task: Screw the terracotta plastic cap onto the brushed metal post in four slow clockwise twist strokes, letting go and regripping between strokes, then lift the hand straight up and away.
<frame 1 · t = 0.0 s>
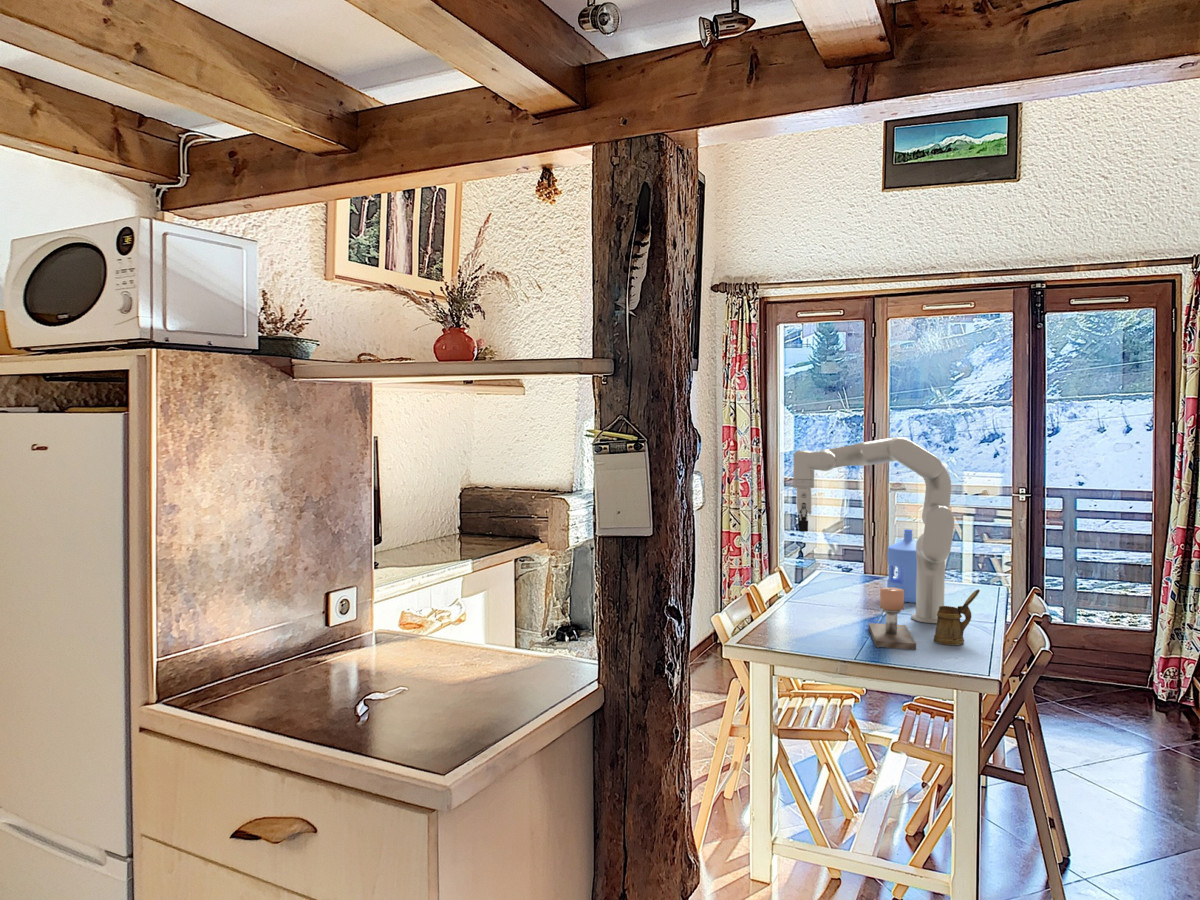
hand: (803, 529, 311), 31 cm above the table, tool pointing down, fingers open, 9 cm apart
cap: (891, 598, 276), point 13 cm above the table, hinge at 0.0°
water jug: (906, 599, 338), on the table
base board: (891, 638, 276), on the table
wooden mug: (955, 643, 272), on the table
threaded post: (891, 620, 276), on the base board, point 6 cm above the table
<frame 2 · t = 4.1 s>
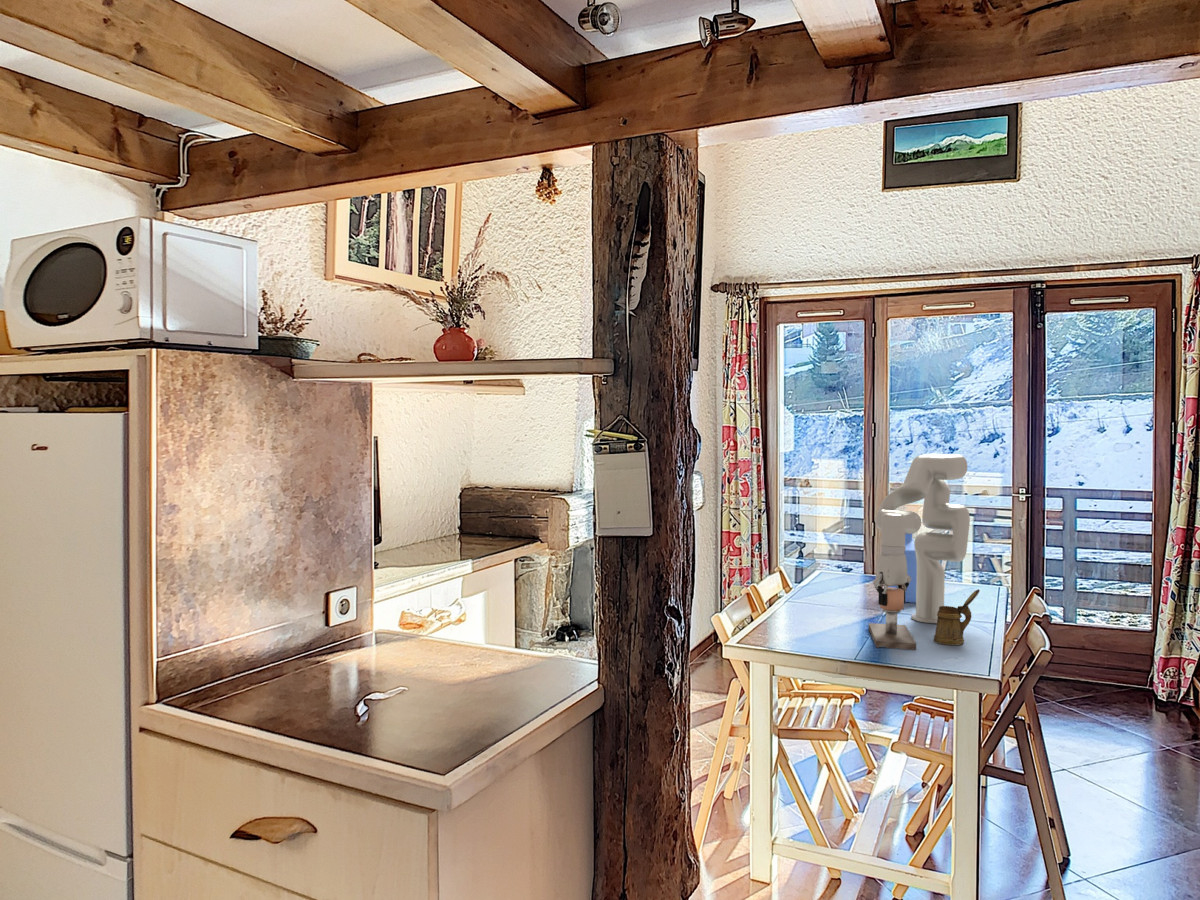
hand: (891, 603, 276), 12 cm above the table, tool pointing down, fingers closed on cap, 7 cm apart
cap: (891, 598, 276), point 13 cm above the table, hinge at 0.0°, touching gripper
everything else where it was.
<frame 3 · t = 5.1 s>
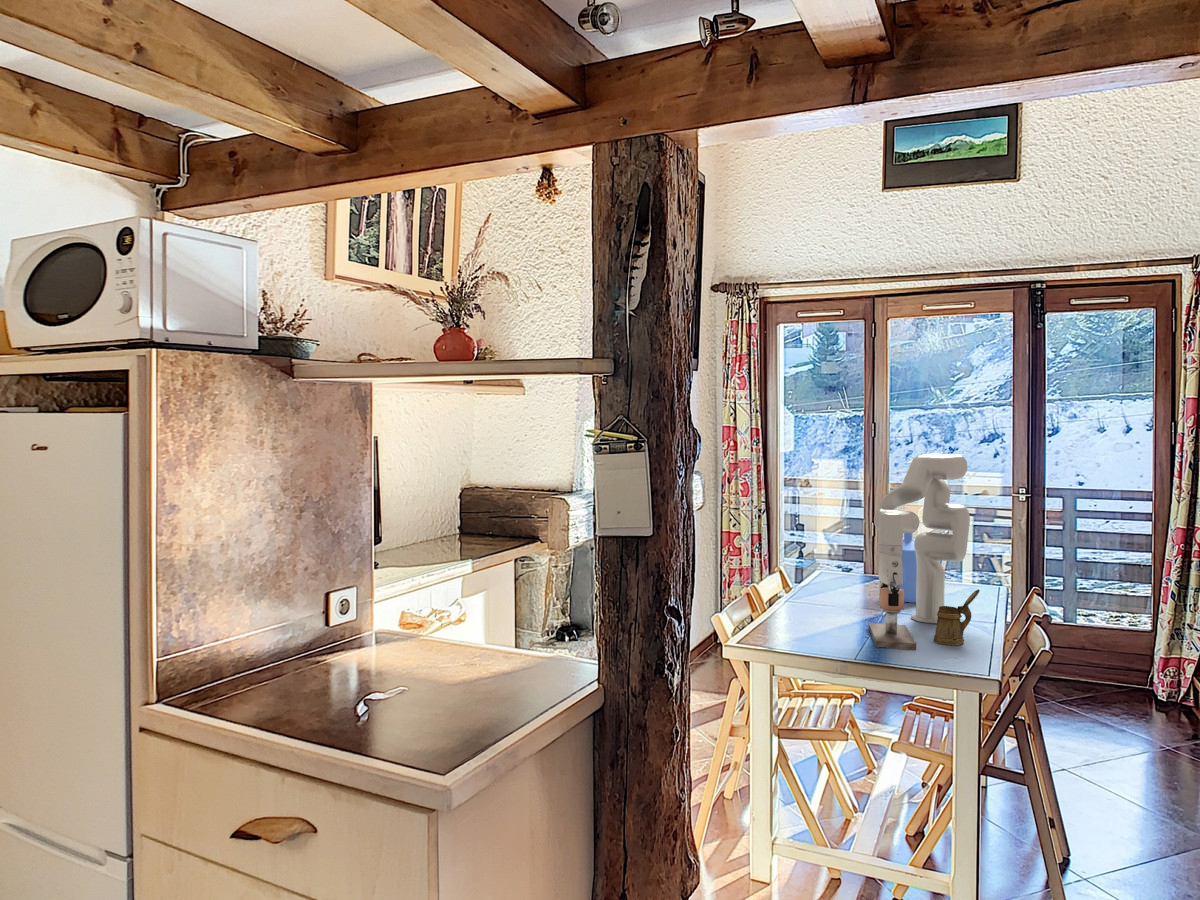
hand: (888, 602, 276), 12 cm above the table, tool pointing down, fingers closed on cap, 7 cm apart
cap: (891, 598, 276), point 13 cm above the table, hinge at 16.5°, touching gripper
everything else where it was.
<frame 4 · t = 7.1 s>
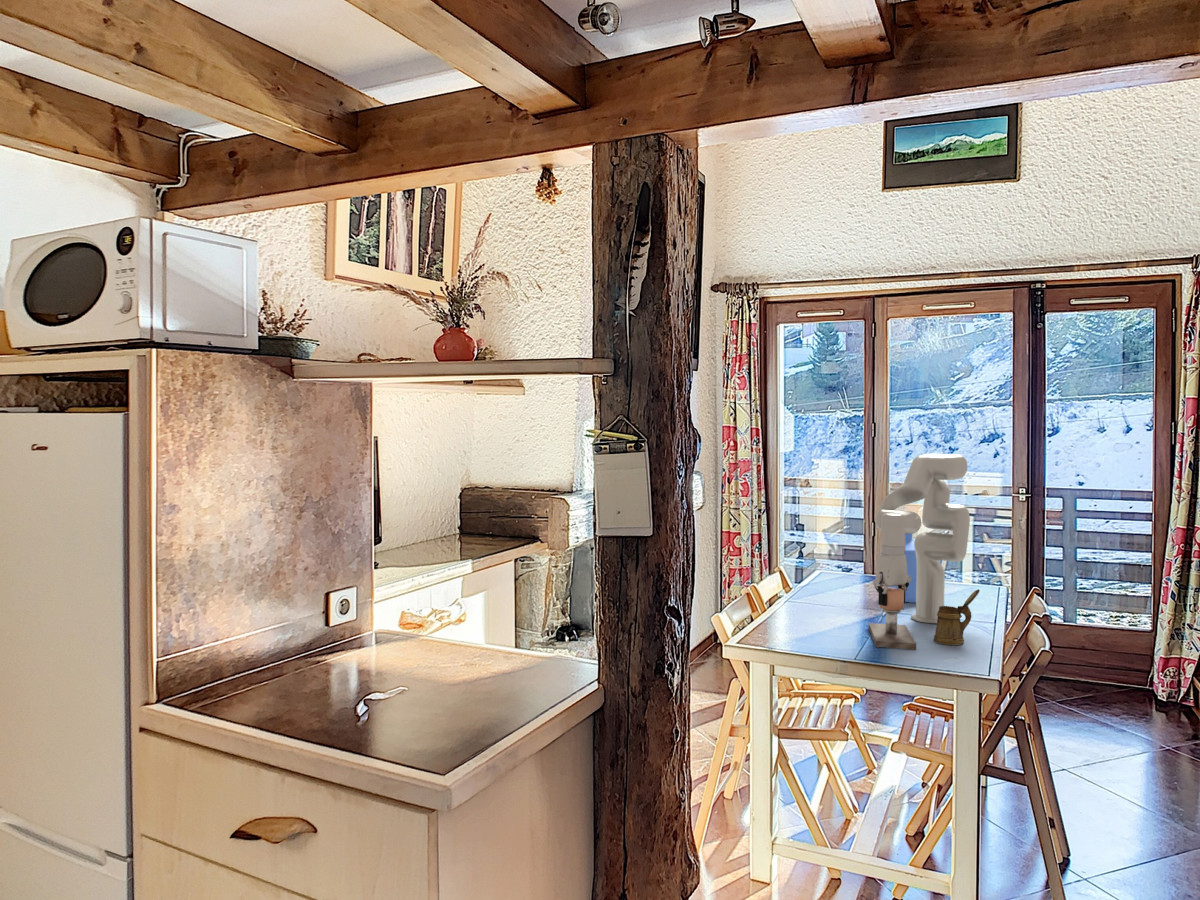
hand: (891, 603, 276), 12 cm above the table, tool pointing down, fingers closed on cap, 7 cm apart
cap: (891, 598, 276), point 13 cm above the table, hinge at 34.9°, touching gripper
everything else where it was.
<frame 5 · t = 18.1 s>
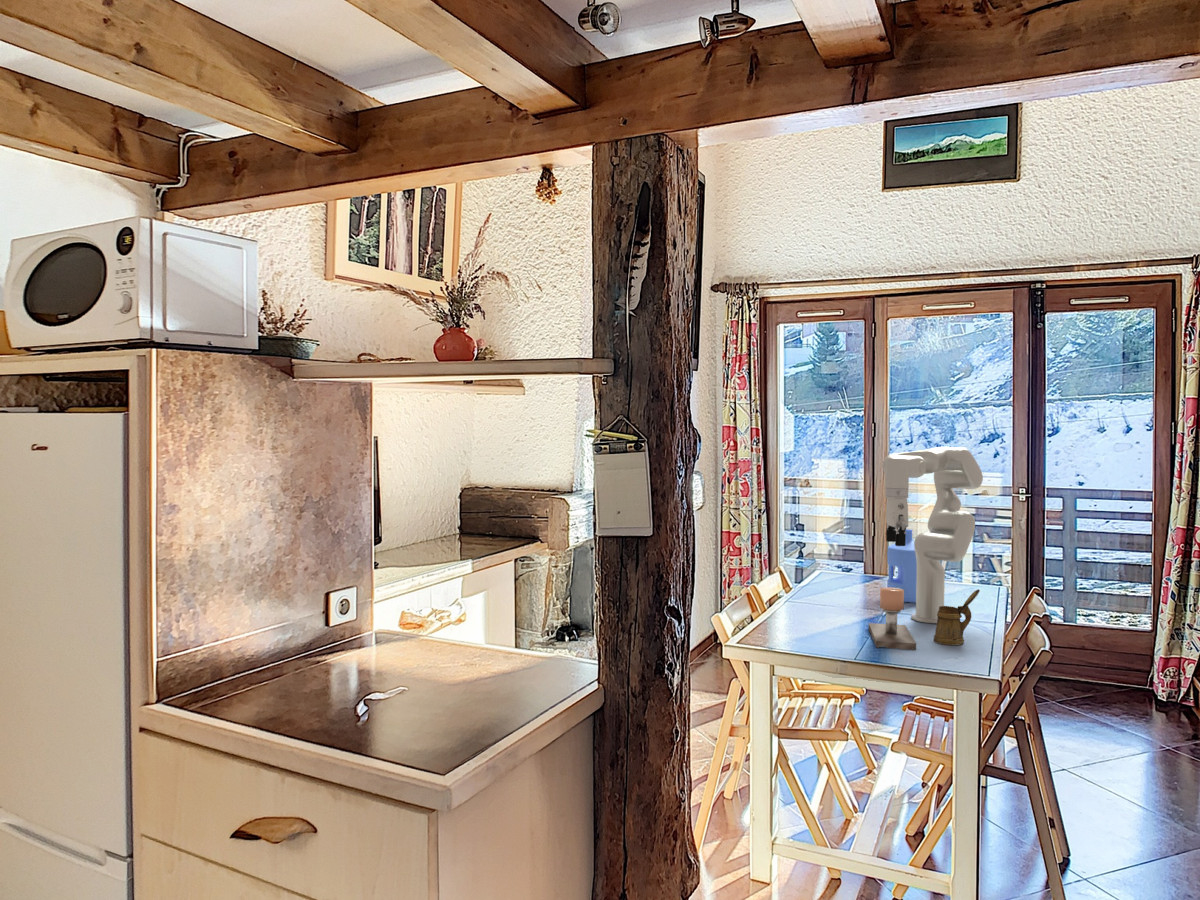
hand: (895, 543, 283), 30 cm above the table, tool pointing down, fingers open, 9 cm apart
cap: (891, 598, 276), point 13 cm above the table, hinge at 142.1°
everything else where it was.
at the end: cap at +142° (first picture: +0°); the gripper is holding nothing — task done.
